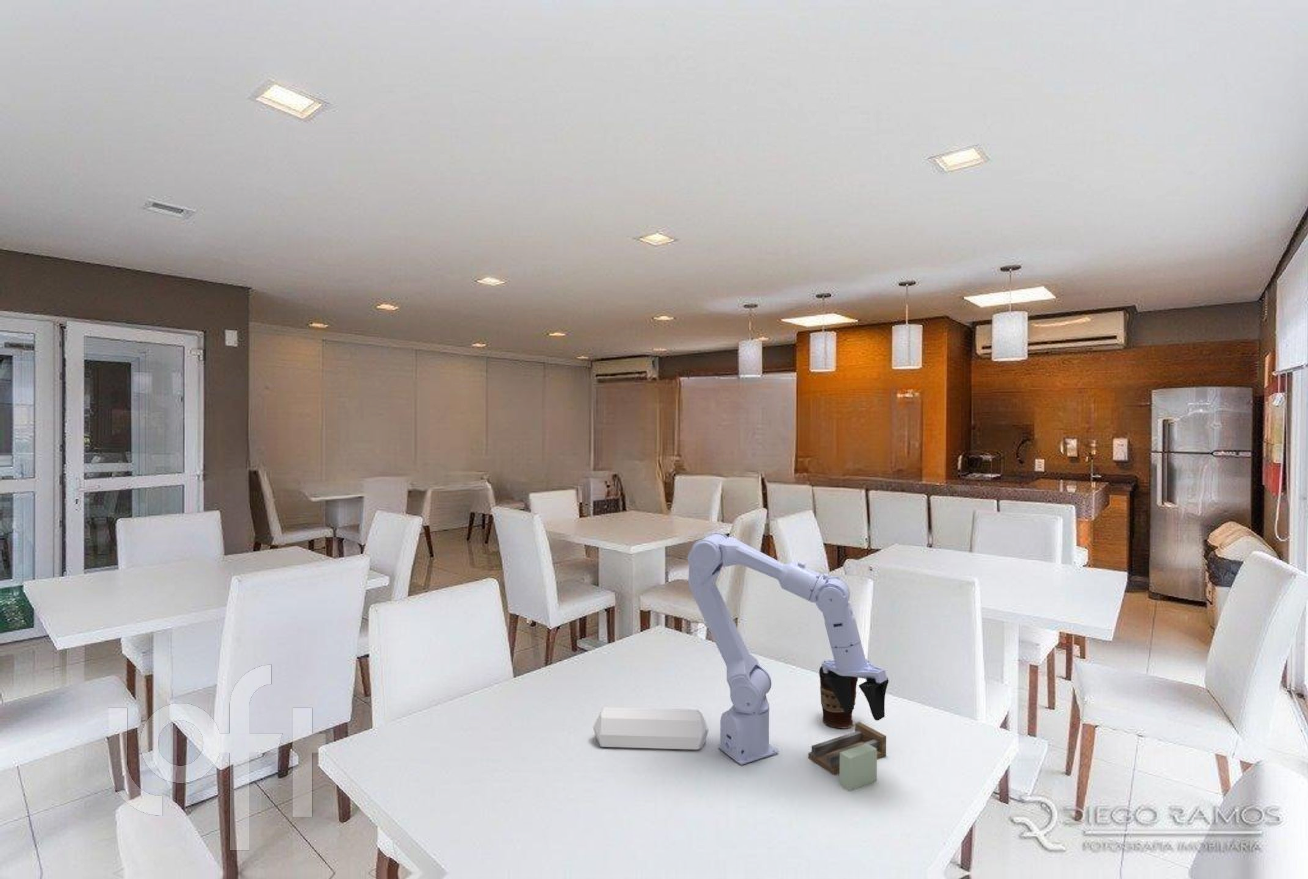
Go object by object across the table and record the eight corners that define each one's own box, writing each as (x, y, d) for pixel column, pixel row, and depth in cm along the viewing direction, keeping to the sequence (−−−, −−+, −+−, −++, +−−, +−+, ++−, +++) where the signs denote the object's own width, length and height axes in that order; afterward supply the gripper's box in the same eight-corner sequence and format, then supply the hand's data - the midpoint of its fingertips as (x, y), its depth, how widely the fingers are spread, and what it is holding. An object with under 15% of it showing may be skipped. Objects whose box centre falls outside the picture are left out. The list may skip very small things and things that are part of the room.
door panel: (849, 791, 116) (849, 758, 116) (839, 784, 118) (839, 752, 118) (876, 780, 120) (876, 748, 119) (866, 774, 122) (866, 743, 122)
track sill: (834, 774, 121) (834, 753, 121) (808, 757, 128) (808, 737, 127) (886, 755, 128) (886, 736, 128) (859, 740, 134) (859, 721, 134)
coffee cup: (849, 736, 136) (849, 675, 136) (811, 724, 141) (812, 666, 141) (863, 720, 143) (864, 663, 143) (827, 710, 148) (827, 654, 148)
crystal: (589, 735, 129) (709, 738, 128) (593, 703, 135) (708, 706, 134) (591, 757, 133) (708, 760, 132) (596, 725, 139) (708, 728, 138)
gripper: (889, 639, 119) (909, 713, 118) (833, 633, 131) (850, 700, 130) (863, 652, 115) (883, 728, 114) (807, 644, 128) (825, 713, 127)
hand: (864, 714), depth 122 cm, fingers open, 7 cm apart
